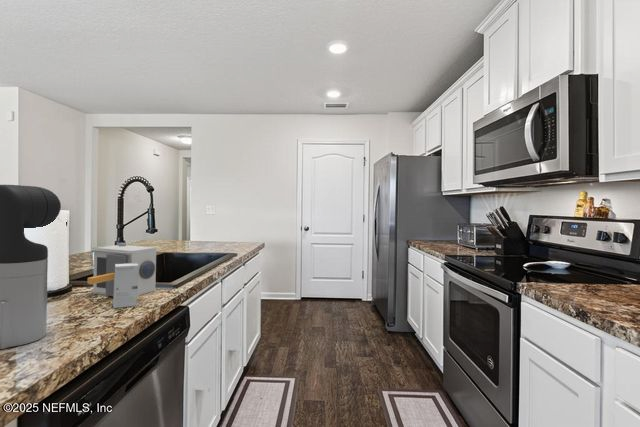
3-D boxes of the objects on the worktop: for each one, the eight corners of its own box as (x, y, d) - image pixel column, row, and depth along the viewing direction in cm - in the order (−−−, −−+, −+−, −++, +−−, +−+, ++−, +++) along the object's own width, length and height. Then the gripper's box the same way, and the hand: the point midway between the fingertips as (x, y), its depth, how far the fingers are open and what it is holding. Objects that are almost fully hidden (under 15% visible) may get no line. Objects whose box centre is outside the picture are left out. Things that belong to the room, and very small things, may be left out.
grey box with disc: (130, 298, 102) (131, 248, 102) (91, 293, 107) (92, 244, 107) (157, 290, 112) (158, 244, 112) (119, 286, 117) (120, 242, 117)
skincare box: (113, 308, 92) (114, 266, 92) (112, 304, 95) (113, 263, 95) (137, 305, 95) (138, 264, 95) (136, 301, 99) (137, 262, 99)
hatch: (98, 304, 93) (99, 259, 93) (80, 301, 96) (81, 258, 95) (125, 296, 102) (126, 255, 102) (108, 294, 104) (109, 254, 104)
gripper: (48, 231, 111) (85, 233, 106) (0, 233, 99) (40, 236, 94) (48, 209, 111) (85, 211, 106) (1, 209, 99) (40, 210, 93)
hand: (64, 223), depth 100 cm, fingers closed
